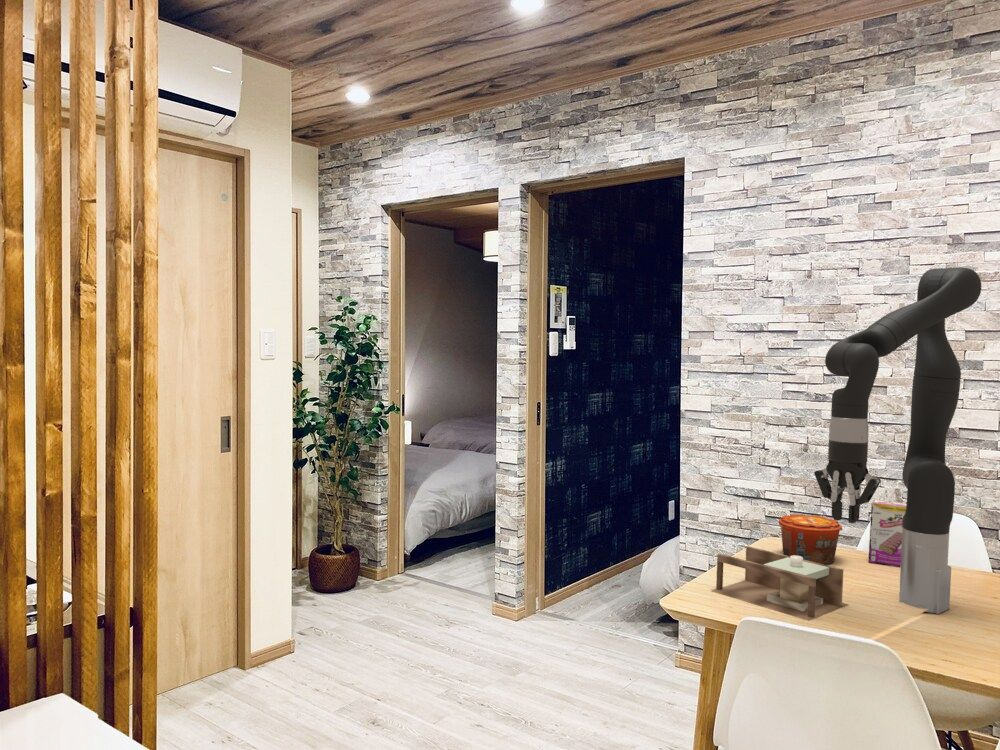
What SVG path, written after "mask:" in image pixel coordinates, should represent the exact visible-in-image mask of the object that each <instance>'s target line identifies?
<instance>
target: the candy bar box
mask: <svg viewBox="0 0 1000 750" xmlns="http://www.w3.org/2000/svg"><path fill="white" fill-rule="evenodd" d="M870 506H871V507H870V508H871V509H870V511H871V512H870V526H869V527H870V528H869V544H868V563H870V564H871V563H872V564H879V565H884V564H885V566H890V565H894V566H893V567H897V566H901V549H902V528H903V516H904V514H905V512H906V506H907V503H903V502H897V501H896V502H895V501H887V500H879V499H873V500H872V501H871V505H870Z"/></svg>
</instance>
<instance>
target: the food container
mask: <svg viewBox="0 0 1000 750" xmlns="http://www.w3.org/2000/svg"><path fill="white" fill-rule="evenodd" d="M778 524H779V527H780V532H781V542H782V543H781V544H782V554H783V555H787V556H792V555H796V556H801V557H803V560H807V561H811V562H816V563H820V564H824V565H828V564H829V565H832V564H833V562H834V561H835V557H836V552H837V547H838V546H837V545H838V541H839V537H840V532H841V531H843V526H842V524H841V523H839V520H838V521H837V520H834V518H826V517H825V516H821V515H813V514H811V515H806V514H802V513H801V514H800V513H798V514H790V515H787V514H786V515H785V514H784V515H783V516H781V517H780V519H778ZM829 565H828V566H829Z"/></svg>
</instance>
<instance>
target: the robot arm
mask: <svg viewBox="0 0 1000 750" xmlns="http://www.w3.org/2000/svg"><path fill="white" fill-rule="evenodd" d="M916 292H917V294H916V296H917V297H916V301H915V302H913V303H911V304H908V305H905V306H902V307H899V308H898V309H895V310H893V311H890V312H889V313H887V314H885V315H884V316H882V317H880V318H879V319H877V320H876V321H875V322H873V323H872V324H871V325H869V326H868V327H867V328H865V329H863V330H861V331H859V332H856V333H853V334H852V335H850V336H847V337H845V338H842V339H841V340H839V341H837V342H836V343H834V344H833V345H832V346H831V347H830V348H829V349H828V350H827V353H826V355H825V357H824V358H825V360H824V363H825V367H826V369H827V371H828V372H829V373H831V374H833V375H835V376H838V377H843V378H844V377H845V378H846V377H848V378H847V382H846V384H845V386H844V387H841V388H837V389H835V390H834V391H833V392H832V395H831V396H832V397H831V409H830V412H831V413H830V420H829V421H830V422H829V426H828V427H829V428H828V429H829V430H828V449H827V450H828V451H827V454H828V455H827V459H828V463H827V465H826V467H825V468H823V469H819V470H818V469H817V470H815V471H814V473H813V474H814V476H815V479H816V483H818V486H819V489H820V492H821V494H822V497H823V498H825V499H828V500H830V502H831V517H832V518H833V519H834V520H836V521H838V522H839V521H841V520H842V519H843V501H842V499H843V494H844V491H845V488H847V489H846V490H847V494H848V498H849V499H848V500H849V505H848V520H847V522H848V523H849V524H855V523H857V521H859V520H860V513H861V511H860V508H861V505H864V504H868V503H870V501H871V500H872V498H873V496H874V494H875V493H876V491H877V489H878V487H879V486H880V484H881V481H882V479H881V478H880V477H874V476H873V475H871V474H870V473H869V469H868V466H867V465H868V455H869V453H868V448H869V419H868V417H869V399H870V395H871V393H872V390H873V387H874V384H875V381H876V378H877V374H878V371H879V366H880V358H883V357H886V356H888V355H890V354H892V353H893V352H895V351H896V350H897V349H899V348H900V347H901V346H903V345H904V344H905V343H907V342H908V341H910V340H911V339H912V338H914V337H915V336H916V350H915V351H916V352H915V361H914V362H915V363H914V368H913V369H914V370H913V377H912V378H913V379H912V387H911V405H910V407H911V408H910V435H909V441H908V445H907V450H906V455H905V459H904V463H903V469H902V475H901V476H902V480H903V481H902V482H903V484H904V486H905V487H906V489H907V492H906V493H907V494H906V504H907V506H906V512H905V514H904V516H903V528H902V549H901V567H900V574H899V592H898V593H899V594H898V601H899V603H902V604H903V603H904V604H905V605H908V606H911V607H915V608H920V609H926V610H924V611H923V612H924V613H931V614H932V613H933V614H937V615H939V614H942V613H944V612H945V611H947V610H950V606H951V605H950V603H951V602H950V601H951V582H952V566H950V565H949V546H950V545H949V543H950V528H951V527H950V526H951V524H952V522H953V517H954V506H955V493H956V482H955V480H956V479H955V476H954V474H953V472H952V469H950V467H949V466H948V465H947V464H946V442H947V436H948V431H949V428H950V425H951V423H952V420H953V418H954V415H955V412H956V409H957V407H958V402H959V396H960V387H961V379H962V372H961V371H962V369H961V366H960V363H959V360H958V359H957V356H956V354H955V352H954V350H953V347H952V346H951V345H950V342H949V339H948V337H947V333H946V319H947V318H950V317H952V316H953V315H956V314H959V313H960V312H962V311H965V310H967V309H968V308H970V307H972V306H973V305H974V304H975V303H976V302H977V301H978V300H979V297H980V296H981V293H982V281H981V278H980V275H979V274H978V272H976V271H975V270H974V269H971V268H967V267H960V266H959V267H944V268H941V267H939V268H932V269H928V270H926V271H925V272H924V273H922V275H921V277H920V279H919V281H918V285H917V291H916ZM829 478H830V479H831V482H832V484H831V483H830V480H829ZM864 481H865V488H864V490H863V491H862V486H861V485H862V483H863V482H864Z"/></svg>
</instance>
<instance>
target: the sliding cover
mask: <svg viewBox="0 0 1000 750" xmlns="http://www.w3.org/2000/svg"><path fill="white" fill-rule="evenodd" d="M763 565H766V566H770V567H774V568H778V569H781V570H785V571H789V572H793V573H797V574H801V575H805V576H809V577H812V578H816V579H818V578H821V577H824V576H827V575H829V567H825V566H821V565H817V564H813V563H809V562H805V561H803V557H801V556H796V555H792V556H790V558H788V557H787V558H784V559H780V560H777V561H773V562H770V563H766V564H763Z"/></svg>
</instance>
